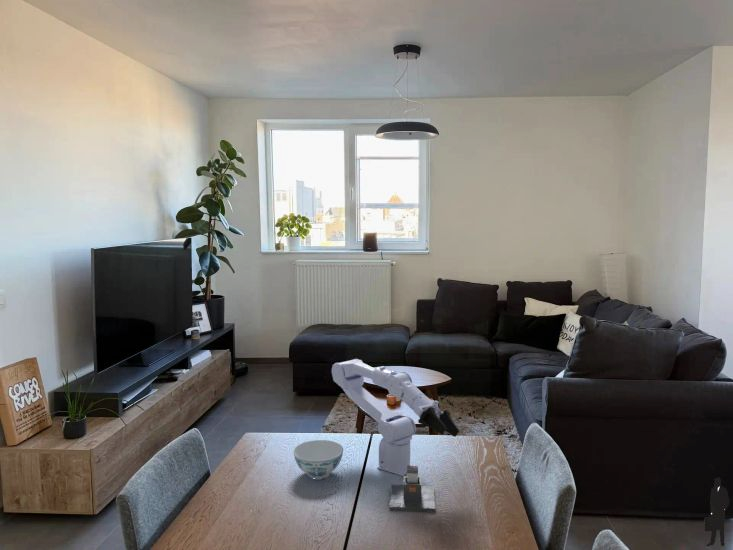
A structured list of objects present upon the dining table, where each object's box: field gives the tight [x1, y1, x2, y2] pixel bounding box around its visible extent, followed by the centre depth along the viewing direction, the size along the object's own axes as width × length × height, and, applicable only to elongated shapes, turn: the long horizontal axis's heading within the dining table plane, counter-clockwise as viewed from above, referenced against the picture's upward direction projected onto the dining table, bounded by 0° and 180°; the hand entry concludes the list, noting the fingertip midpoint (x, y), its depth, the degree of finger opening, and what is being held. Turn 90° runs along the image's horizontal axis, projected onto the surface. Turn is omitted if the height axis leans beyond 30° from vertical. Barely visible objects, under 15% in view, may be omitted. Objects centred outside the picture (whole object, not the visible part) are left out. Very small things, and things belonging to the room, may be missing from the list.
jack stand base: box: [389, 475, 436, 513], centre depth 145 cm, size 12×12×6 cm
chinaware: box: [293, 439, 344, 480], centre depth 160 cm, size 15×15×8 cm
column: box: [406, 465, 419, 484], centre depth 145 cm, size 3×3×8 cm
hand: (450, 432), depth 147 cm, fingers open, 7 cm apart
